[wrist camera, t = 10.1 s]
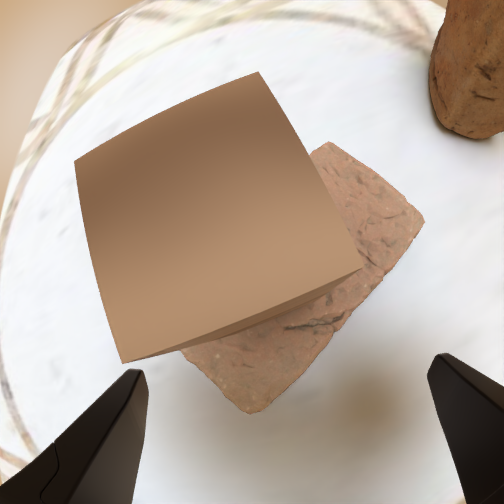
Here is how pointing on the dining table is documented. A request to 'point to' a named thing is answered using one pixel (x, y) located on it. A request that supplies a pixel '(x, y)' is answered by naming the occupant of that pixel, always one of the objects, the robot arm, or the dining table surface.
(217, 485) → the dining table surface
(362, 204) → the brick
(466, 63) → the block
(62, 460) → the robot arm
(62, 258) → the dining table surface
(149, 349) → the walnut block
